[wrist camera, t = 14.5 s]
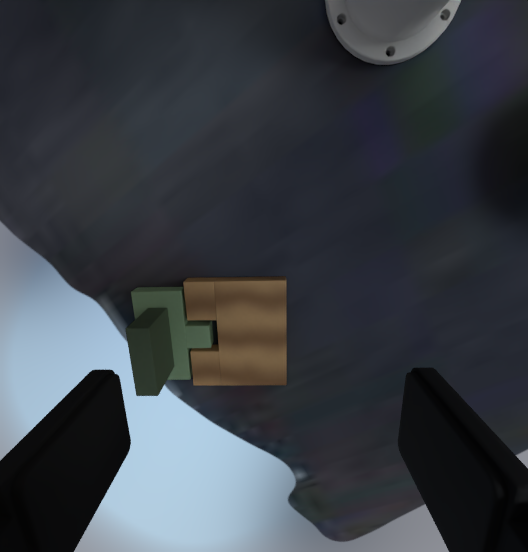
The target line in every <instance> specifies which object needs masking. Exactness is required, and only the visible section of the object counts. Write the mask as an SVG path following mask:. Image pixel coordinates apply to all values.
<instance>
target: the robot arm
mask: <svg viewBox="0 0 528 552" xmlns="http://www.w3.org/2000/svg"><path fill="white" fill-rule="evenodd" d="M460 2H461V0H325V5H326V13H327V16H328V19H329V22H330V26H331V28H332V30H333V32H334V34H335V36H336V37H337V39H338V40H339V42H340V43H341V44H342V45H343V47H344V48H345V49H346V50H348V51H349V52H350V53H351V54H352V55H354V56H355V57H357V58H359V59H361V60H363V61H365V62H368V63H372V64H376V65H391V64H396V63H401V62H404V61H406V60H409V59H411V58H413V57H415V56H417V55H418V54H420V53H421V52H423V51H424V50H425V49H427V48H428V47H429V46H430V45H431V44H432V43H433V42H434V41H435V40H436V39H437V38H438V37H439V36H440V35H441V34H442V33H443V32H444V31H445V29H446V28H447V26H448V25H449V23H450V22H451V20H452V19H453V17H454V15H455V13H456V11H457V8H458V6H459V4H460ZM441 18H442V19H441ZM338 22H341V23H342V25H341V24H339V23H338ZM386 53H388V54H389V57H388V56H387V55H386ZM130 441H131V440H130V435H129V428H128V423H127V418H126V412H125V406H124V400H123V395H122V389H121V383H120V379H119V376H118V375H117V374H115V373H114V372H113V370H92V371H91V372H90V373H89V374H88V375H87V376H86V377H85V378H84V379H83V380H82V381H81V382H80V383H79V384H78V385H77V386H76V387H75V388H74V389H73V390H71V391H70V393H68V394H67V395H66V396H65V398H63V399H62V401H61V402H59V403H58V404H57V405H56V406H55V407H54V409H52V410H51V411H50V412H49V413H48V414H47V415H46V416H45V417H44V418H43V419H42V420H41V421H40V422H39V423H38V424H37V425H36V426H35V427H34V428H33V429H32V430H31V431H30V432H29V433H28V434H27V435H26V436H25V437H24V438H23V439H22V440H21V441H20V442H19V443H18V444H17V445H16V446H15V447H14V448H13V449H12V450H11V451H10V452H9V453H8V454H7V455H6V456H5V457H4V458H3V459H2V460H1V461H0V552H74V550H75V548H76V547H77V545H78V543H79V541H80V539H81V538H82V536H83V534H84V532H85V530H86V528H87V527H88V525H89V523H90V521H91V519H92V518H93V516H94V514H95V512H96V510H97V509H98V507H99V505H100V503H101V501H102V499H103V498H104V496H105V494H106V492H107V490H108V489H109V487H110V485H111V483H112V481H113V480H114V477H115V476H116V474H117V472H118V471H119V469H120V467H121V465H122V463H123V461H124V460H125V458H126V456H127V454H128V452H129V449H130V444H131V442H130ZM398 446H399V451H400V453H401V456H402V458H403V460H404V462H405V464H406V466H407V468H408V470H409V472H410V474H411V476H412V478H413V480H414V482H415V484H416V486H417V488H418V490H419V492H420V494H421V496H422V498H423V500H424V502H425V504H426V506H427V508H428V510H429V512H430V514H431V516H432V518H433V520H434V522H435V524H436V526H437V528H438V530H439V532H440V534H441V536H442V538H443V540H444V542H445V544H446V546H447V548H448V550H449V552H528V468H527V467H526V466H525V465H524V464H523V463H522V462H521V461H520V460H519V459H518V458H517V457H516V456H515V455H514V453H513V452H512V451H511V450H510V449H509V448H508V447H507V446H506V445H505V444H504V443H503V442H502V441H501V439H500V438H499V437H498V436H497V435H496V434H495V433H494V432H493V431H492V430H491V429H490V428H489V427H488V426H487V424H486V423H485V422H484V421H483V420H482V419H481V418H480V417H479V416H478V415H477V414H476V413H475V412H474V411H473V409H472V408H471V407H470V406H469V405H468V404H467V403H466V402H465V401H464V400H463V399H462V398H461V397H460V396H459V394H458V393H457V392H456V391H455V390H454V389H453V388H452V387H451V386H450V385H449V384H448V383H447V382H446V381H445V379H444V378H443V377H442V376H441V375H440V374H439V373H438V372H437V371H436V370H435V369H434V368H413V369H412V371H411V373H407V375H406V380H405V388H404V396H403V404H402V412H401V420H400V428H399V436H398Z"/></svg>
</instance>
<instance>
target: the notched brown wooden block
mask: <svg viewBox="0 0 528 552" xmlns="http://www.w3.org/2000/svg"><path fill="white" fill-rule="evenodd" d="M183 284H184V294H185V304H186V314H187V320H217V331H218V345H212V346H211V348H192V350H191V352H190V354H191V364H192V374H193V384H194V385H286V384H287V377H286V277H285V276H278V277H217V278H216V277H213V278H187V279H186V280H185V281H184V282H183Z"/></svg>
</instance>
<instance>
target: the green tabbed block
mask: <svg viewBox="0 0 528 552" xmlns="http://www.w3.org/2000/svg"><path fill="white" fill-rule="evenodd" d="M131 296H132V303H133V309H134V316H135V320H134V321H133V322H132V323H131V324H130V325H129V326H128V327H127V328H126V335H127V341H128V347H129V353H130V359H131V365H132V371H133V377H134V383H135V389H136V395H137V396H158V395H159V393H160V391H161V389H162V387H163V386H164V384H165V382H166V380H190V379H191V377H192V364H191V354H190V352H191V348H211V346H212V344H213V341H214V339H213V326H212V320H187V314H186V304H185V294H184V287H137V288H136V289H135V290H133V291H132V292H131Z"/></svg>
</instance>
